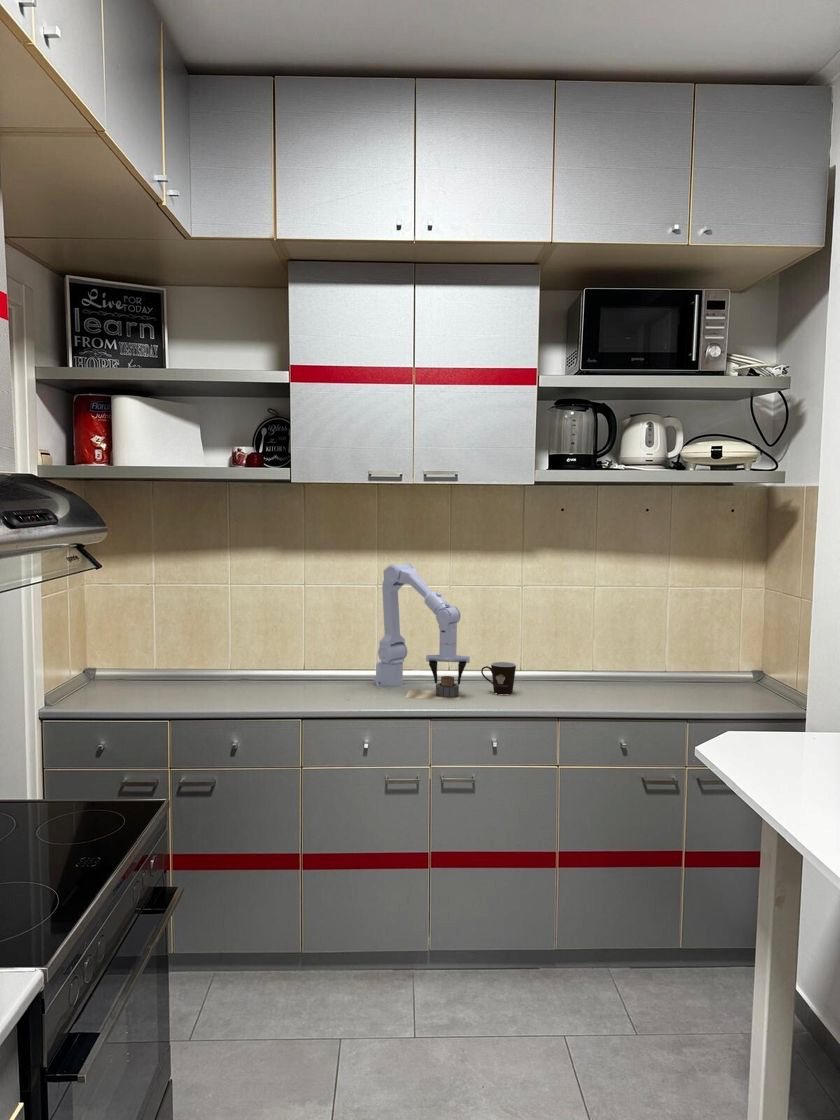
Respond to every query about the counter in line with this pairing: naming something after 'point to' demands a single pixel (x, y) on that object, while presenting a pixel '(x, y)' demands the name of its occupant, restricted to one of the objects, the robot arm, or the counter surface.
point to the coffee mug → (502, 677)
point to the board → (428, 695)
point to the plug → (447, 681)
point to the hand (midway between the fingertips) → (447, 683)
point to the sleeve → (447, 691)
